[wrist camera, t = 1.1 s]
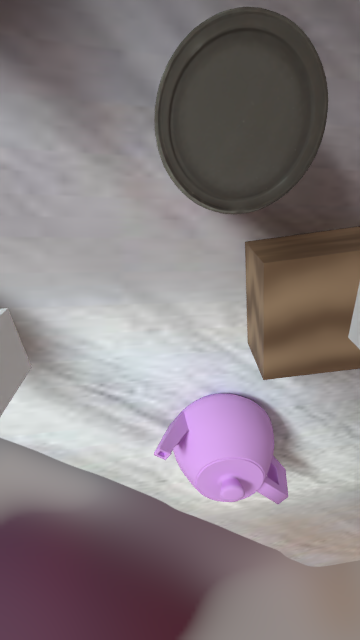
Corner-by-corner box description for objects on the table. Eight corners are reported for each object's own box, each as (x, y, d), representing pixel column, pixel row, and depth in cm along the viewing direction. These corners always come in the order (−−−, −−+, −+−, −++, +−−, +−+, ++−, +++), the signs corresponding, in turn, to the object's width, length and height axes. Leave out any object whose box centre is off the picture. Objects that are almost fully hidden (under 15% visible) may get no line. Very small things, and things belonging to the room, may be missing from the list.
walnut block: (245, 241, 36) (263, 263, 29) (366, 225, 35) (416, 242, 28) (247, 342, 42) (263, 379, 35) (350, 329, 42) (386, 365, 35)
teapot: (302, 415, 49) (338, 486, 39) (246, 471, 56) (264, 545, 45) (184, 362, 44) (188, 428, 33) (136, 431, 50) (127, 505, 39)
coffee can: (169, 59, 28) (170, -19, 15) (277, 85, 29) (360, 33, 16) (153, 181, 32) (143, 198, 20) (246, 200, 34) (292, 227, 21)
